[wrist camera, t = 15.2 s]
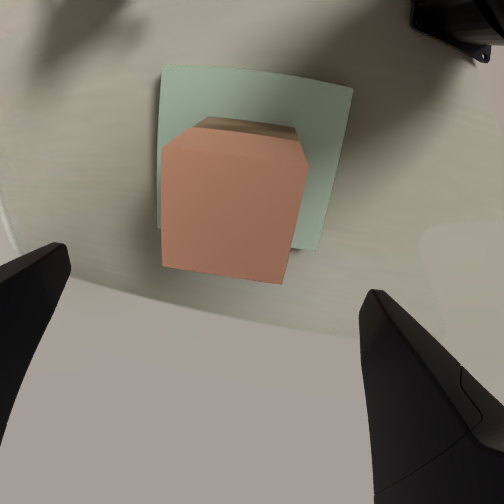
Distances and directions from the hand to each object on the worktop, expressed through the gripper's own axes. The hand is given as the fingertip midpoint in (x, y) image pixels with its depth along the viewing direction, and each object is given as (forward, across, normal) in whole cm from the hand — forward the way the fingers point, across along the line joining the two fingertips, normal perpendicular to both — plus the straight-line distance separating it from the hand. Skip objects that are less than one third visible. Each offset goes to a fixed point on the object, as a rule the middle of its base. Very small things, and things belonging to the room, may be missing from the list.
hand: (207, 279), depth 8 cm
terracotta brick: (+8, 0, 0) cm, 8 cm away
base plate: (+13, 0, 0) cm, 13 cm away
